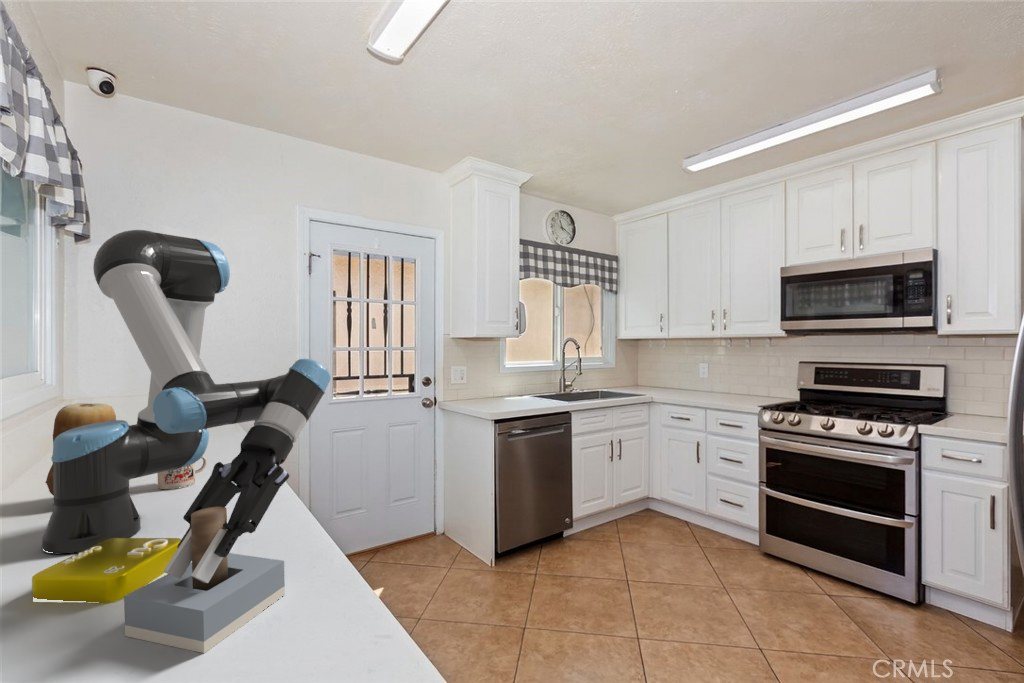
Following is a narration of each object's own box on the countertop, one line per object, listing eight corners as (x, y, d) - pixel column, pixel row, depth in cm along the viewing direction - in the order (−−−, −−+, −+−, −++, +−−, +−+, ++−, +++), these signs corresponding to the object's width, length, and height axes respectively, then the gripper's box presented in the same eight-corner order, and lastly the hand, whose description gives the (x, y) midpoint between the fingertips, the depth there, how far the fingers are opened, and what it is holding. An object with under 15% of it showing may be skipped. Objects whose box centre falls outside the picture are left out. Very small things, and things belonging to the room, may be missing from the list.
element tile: (110, 559, 88) (109, 534, 88) (187, 560, 87) (187, 534, 87) (24, 605, 73) (23, 575, 73) (117, 606, 72) (116, 575, 72)
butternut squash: (114, 502, 118) (112, 404, 118) (40, 514, 110) (38, 409, 110) (121, 488, 129) (119, 398, 129) (54, 498, 122) (52, 403, 122)
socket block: (124, 635, 64) (124, 596, 64) (215, 583, 78) (214, 550, 78) (204, 653, 60) (203, 611, 60) (284, 595, 74) (284, 560, 74)
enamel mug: (162, 492, 125) (161, 449, 125) (152, 486, 131) (151, 445, 131) (212, 481, 135) (211, 441, 135) (201, 476, 140) (200, 437, 140)
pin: (185, 592, 67) (183, 516, 67) (212, 577, 72) (210, 505, 72) (208, 596, 66) (207, 518, 66) (235, 580, 70) (233, 507, 70)
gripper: (326, 449, 81) (251, 594, 65) (246, 444, 86) (158, 579, 70) (304, 424, 76) (217, 575, 60) (220, 421, 81) (119, 560, 65)
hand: (185, 576), depth 65 cm, fingers closed on pin, 4 cm apart
